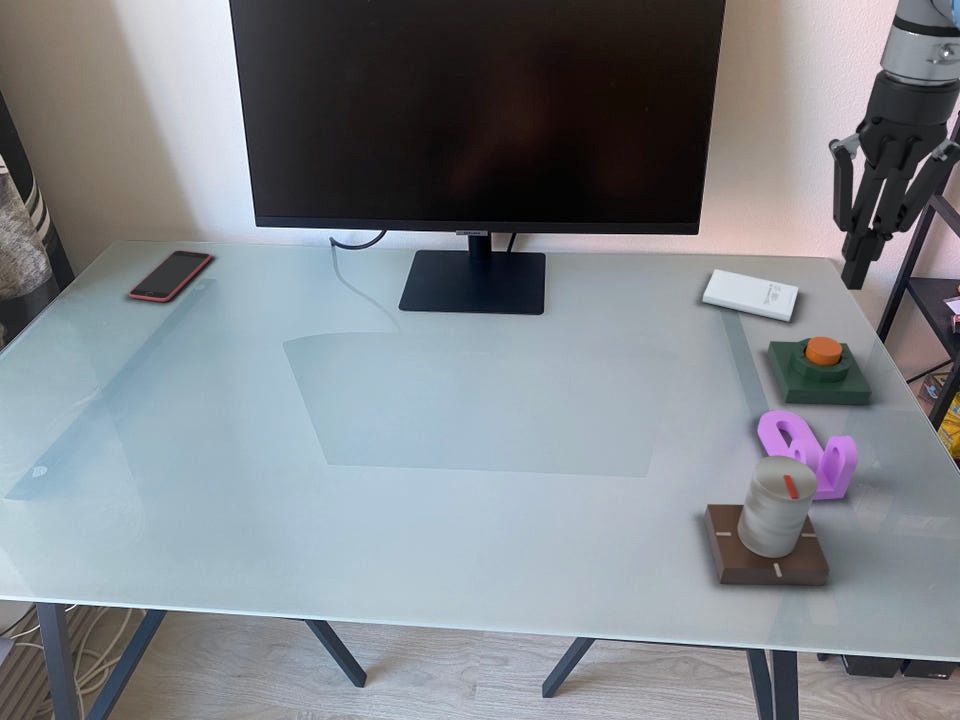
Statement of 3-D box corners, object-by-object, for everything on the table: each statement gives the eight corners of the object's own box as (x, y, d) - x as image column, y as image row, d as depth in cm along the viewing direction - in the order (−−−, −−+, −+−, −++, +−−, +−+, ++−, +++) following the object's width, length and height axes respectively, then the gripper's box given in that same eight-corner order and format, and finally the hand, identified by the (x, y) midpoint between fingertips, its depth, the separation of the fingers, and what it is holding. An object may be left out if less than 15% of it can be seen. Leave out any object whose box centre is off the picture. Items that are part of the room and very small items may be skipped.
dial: (731, 512, 78) (748, 452, 72) (786, 513, 78) (807, 453, 72) (744, 557, 73) (764, 497, 68) (803, 558, 73) (827, 497, 68)
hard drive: (713, 276, 118) (797, 294, 114) (701, 303, 112) (788, 323, 108) (715, 267, 117) (799, 285, 113) (703, 294, 111) (791, 313, 107)
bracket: (842, 498, 82) (861, 453, 78) (793, 501, 82) (809, 456, 78) (795, 417, 92) (809, 373, 88) (750, 420, 92) (762, 376, 88)
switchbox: (866, 405, 94) (876, 380, 92) (784, 402, 95) (792, 378, 92) (842, 355, 102) (850, 331, 99) (766, 353, 102) (773, 330, 100)
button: (842, 366, 94) (846, 355, 93) (810, 366, 95) (813, 354, 93) (833, 347, 97) (837, 336, 96) (801, 346, 98) (804, 335, 97)
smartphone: (125, 294, 116) (175, 249, 126) (126, 297, 116) (176, 252, 127) (166, 299, 114) (213, 253, 125) (167, 303, 115) (213, 256, 125)
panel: (796, 514, 81) (802, 497, 79) (826, 593, 73) (833, 576, 71) (701, 513, 81) (705, 496, 79) (721, 591, 73) (726, 575, 72)
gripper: (863, 86, 70) (801, 300, 84) (1010, 87, 69) (922, 302, 83) (838, 62, 76) (784, 265, 90) (973, 62, 75) (897, 267, 89)
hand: (850, 283), depth 87 cm, fingers closed
